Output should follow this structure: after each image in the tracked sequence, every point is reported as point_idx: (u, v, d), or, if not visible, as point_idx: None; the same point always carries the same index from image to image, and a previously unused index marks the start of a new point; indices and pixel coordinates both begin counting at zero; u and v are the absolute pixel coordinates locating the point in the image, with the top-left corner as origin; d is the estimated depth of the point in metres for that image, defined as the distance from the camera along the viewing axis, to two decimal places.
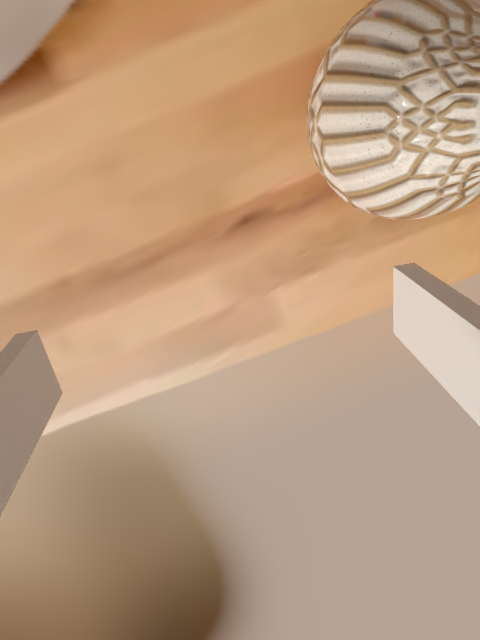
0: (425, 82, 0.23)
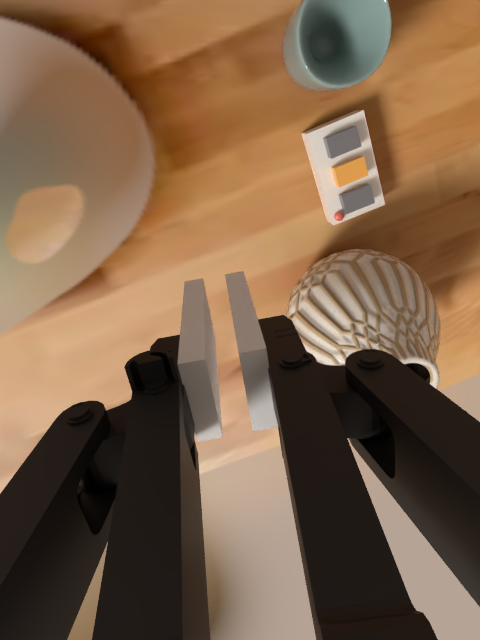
0: None
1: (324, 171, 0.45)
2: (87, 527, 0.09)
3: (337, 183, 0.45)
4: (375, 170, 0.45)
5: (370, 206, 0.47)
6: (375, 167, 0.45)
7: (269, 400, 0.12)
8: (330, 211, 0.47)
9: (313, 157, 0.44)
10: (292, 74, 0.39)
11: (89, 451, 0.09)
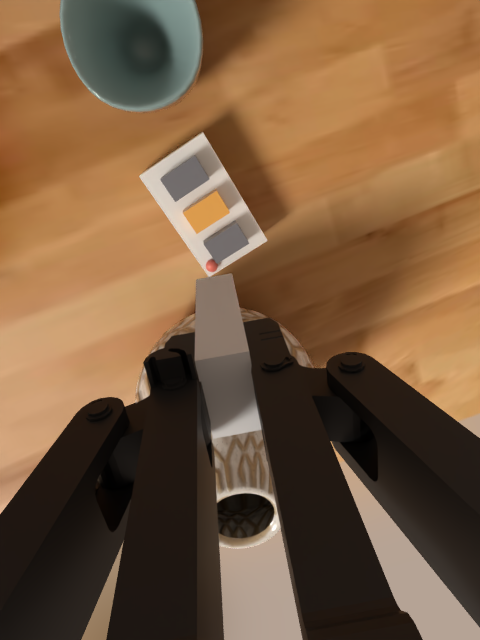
0: None
1: (176, 216, 0.35)
2: (104, 524, 0.09)
3: (194, 229, 0.35)
4: (242, 202, 0.35)
5: (249, 246, 0.37)
6: (240, 199, 0.35)
7: (253, 403, 0.12)
8: (199, 261, 0.37)
9: None
10: None
11: (108, 448, 0.09)
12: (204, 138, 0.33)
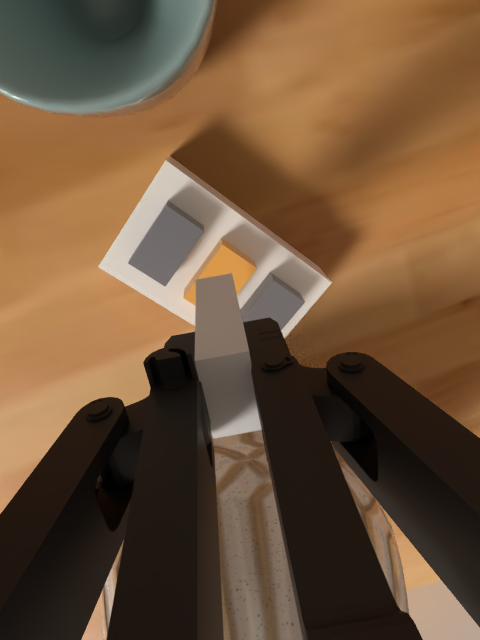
0: None
1: (178, 302, 0.22)
2: (104, 524, 0.09)
3: None
4: (270, 242, 0.21)
5: (305, 301, 0.22)
6: (266, 237, 0.21)
7: (253, 403, 0.12)
8: None
9: None
10: None
11: (108, 448, 0.09)
12: (172, 168, 0.19)
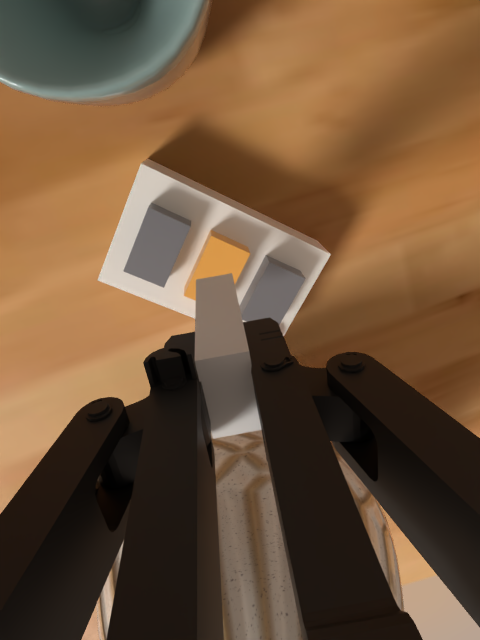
0: None
1: (181, 300, 0.22)
2: (104, 524, 0.09)
3: None
4: (260, 225, 0.20)
5: (307, 278, 0.22)
6: (255, 221, 0.20)
7: (253, 403, 0.12)
8: None
9: None
10: None
11: (108, 448, 0.09)
12: (148, 170, 0.19)
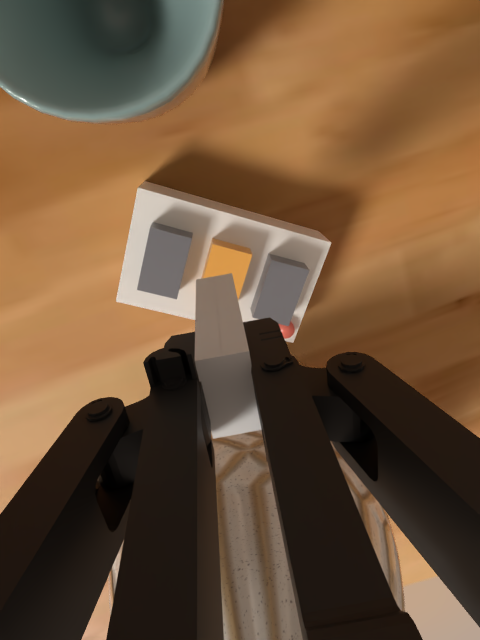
0: None
1: (195, 308, 0.23)
2: (104, 524, 0.09)
3: None
4: (258, 226, 0.21)
5: (312, 268, 0.23)
6: (253, 223, 0.21)
7: (253, 403, 0.12)
8: None
9: None
10: None
11: (108, 448, 0.09)
12: (146, 192, 0.20)
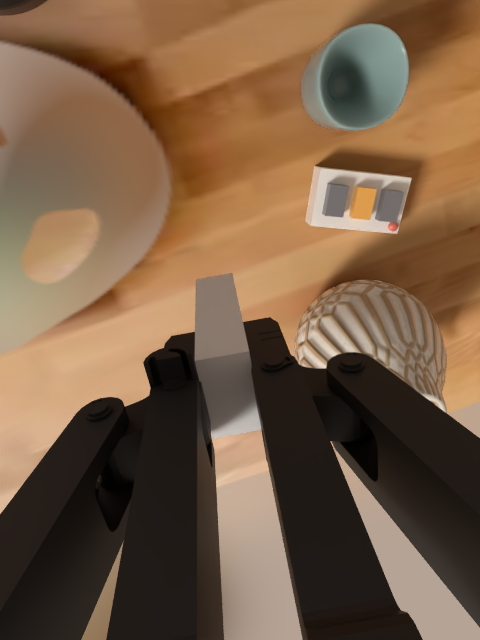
0: None
1: (348, 223, 0.47)
2: (104, 524, 0.09)
3: None
4: (376, 176, 0.45)
5: (403, 192, 0.46)
6: (373, 175, 0.45)
7: (253, 403, 0.12)
8: (384, 231, 0.48)
9: None
10: (310, 113, 0.40)
11: (108, 448, 0.09)
12: (324, 169, 0.44)
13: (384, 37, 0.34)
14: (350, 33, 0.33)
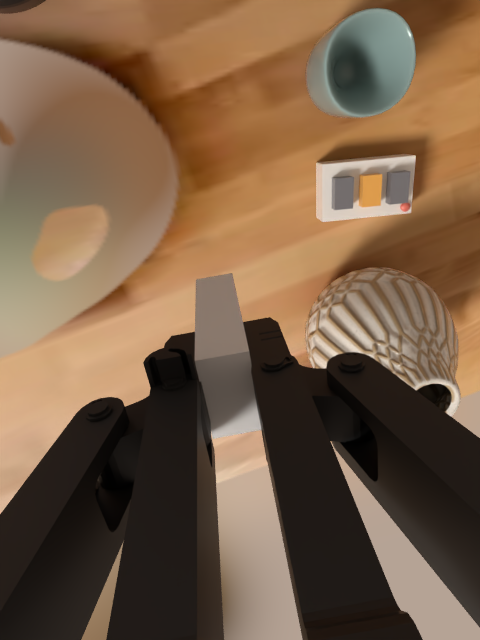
0: None
1: (359, 212, 0.47)
2: (104, 524, 0.09)
3: None
4: (379, 160, 0.45)
5: (410, 171, 0.46)
6: (376, 160, 0.45)
7: (253, 403, 0.12)
8: (396, 213, 0.47)
9: None
10: (316, 101, 0.40)
11: (108, 448, 0.09)
12: (326, 165, 0.45)
13: (390, 22, 0.34)
14: (356, 19, 0.33)
